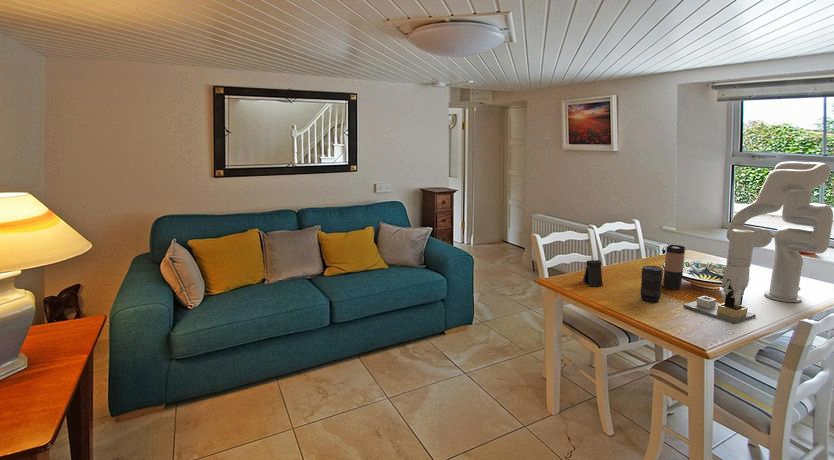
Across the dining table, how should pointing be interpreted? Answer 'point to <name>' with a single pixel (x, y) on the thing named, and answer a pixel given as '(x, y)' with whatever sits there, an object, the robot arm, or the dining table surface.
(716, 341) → the dining table surface
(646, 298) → the camera lens
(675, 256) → the travel mug
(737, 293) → the light grey rectangular block
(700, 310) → the fitting board
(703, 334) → the dining table surface
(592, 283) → the door stopper
